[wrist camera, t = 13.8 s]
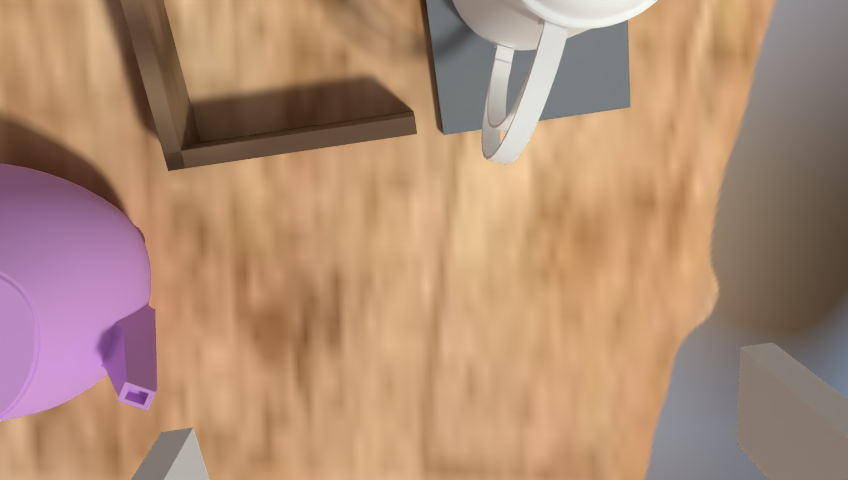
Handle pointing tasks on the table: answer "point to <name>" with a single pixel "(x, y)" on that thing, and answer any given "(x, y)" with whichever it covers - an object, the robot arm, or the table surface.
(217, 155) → the bracket
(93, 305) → the teapot
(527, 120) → the coffeepot
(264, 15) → the table surface
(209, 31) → the table surface
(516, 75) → the trivet
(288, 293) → the table surface
